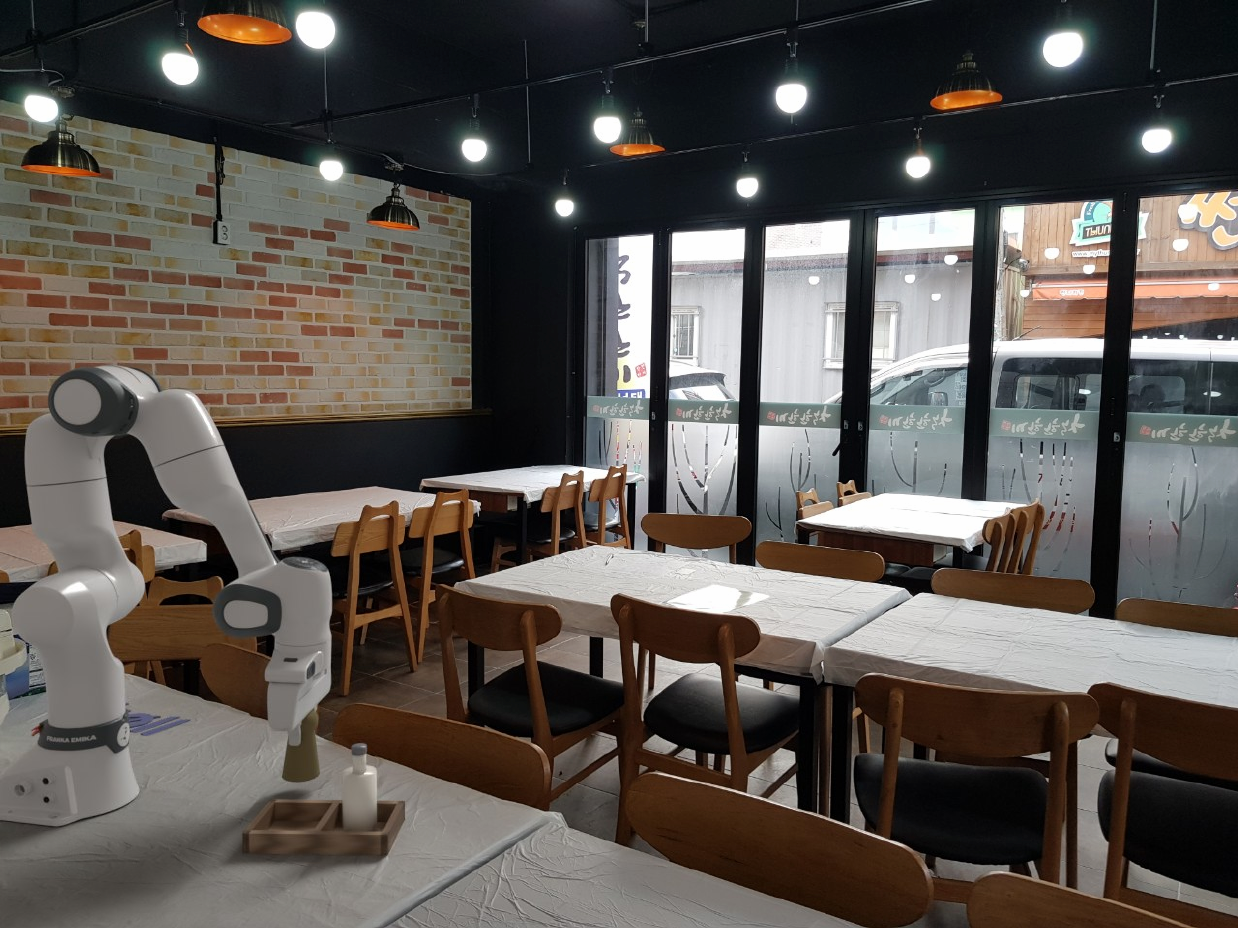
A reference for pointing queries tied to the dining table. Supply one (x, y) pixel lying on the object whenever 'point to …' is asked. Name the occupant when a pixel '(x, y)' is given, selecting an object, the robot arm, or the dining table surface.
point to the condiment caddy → (319, 829)
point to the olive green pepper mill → (303, 753)
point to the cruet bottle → (359, 793)
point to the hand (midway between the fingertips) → (301, 737)
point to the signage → (147, 719)
